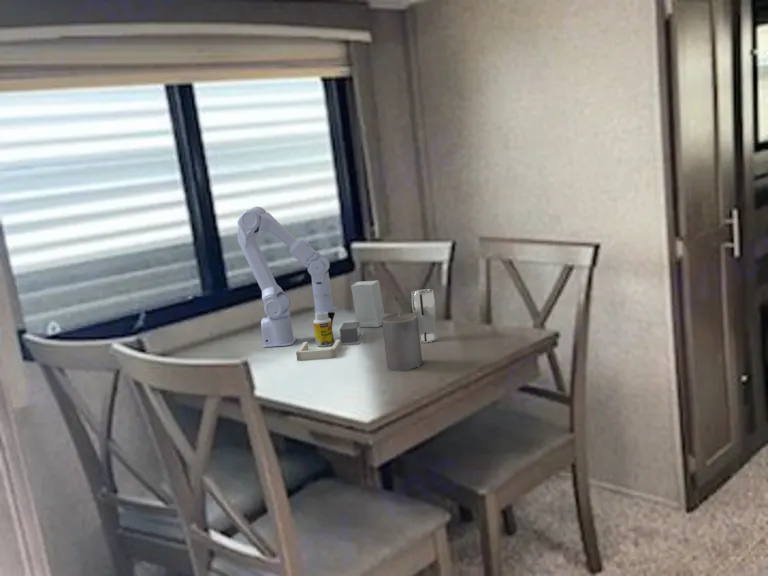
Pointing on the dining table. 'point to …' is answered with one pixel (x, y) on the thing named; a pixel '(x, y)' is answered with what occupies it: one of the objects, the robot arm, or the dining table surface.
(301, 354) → the tray
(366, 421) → the dining table surface
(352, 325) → the box
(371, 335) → the dining table surface
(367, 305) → the skincare box
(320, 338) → the supplement bottle
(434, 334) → the beer glass
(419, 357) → the pillar candle
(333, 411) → the dining table surface
